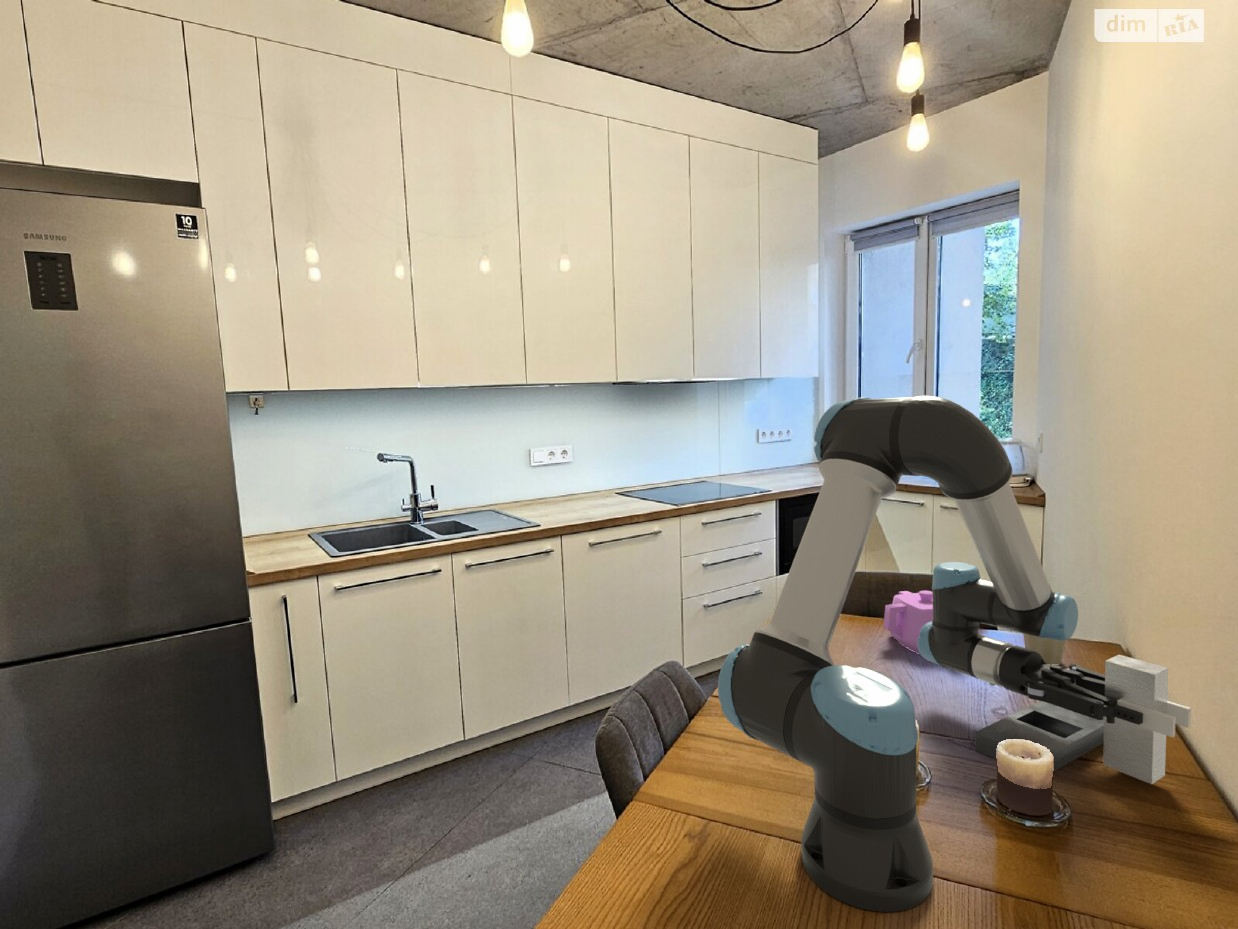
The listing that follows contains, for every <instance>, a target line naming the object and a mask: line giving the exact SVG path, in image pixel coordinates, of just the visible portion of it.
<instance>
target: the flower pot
mask: <svg viewBox="0 0 1238 929" xmlns="http://www.w3.org/2000/svg"><path fill="white" fill-rule="evenodd" d="M1022 635H1023V641H1024V648H1027V649H1030V650H1034V651H1036V652H1038V653H1039V654H1040V655H1041V656H1042V659H1043V660H1044V662H1045V663H1046V664H1050V665H1052V664H1060V663H1061V664H1062V663H1063V662H1062V661H1063V655H1064V650H1065V646H1066V641H1057V640H1052V639H1047V638H1038V637H1036V636H1032V635H1028V634H1024V633H1022ZM1061 664H1060V665H1061Z"/></svg>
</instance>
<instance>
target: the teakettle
mask: <svg viewBox="0 0 1238 929" xmlns="http://www.w3.org/2000/svg"><path fill="white" fill-rule="evenodd" d="M932 621H933V593H932V591H930V590H920V591H918V592H910V591H908V590H904V591H902V590H901V591H898V594H895V595H894V596H893V600H892V603H890V604H885V607H884V617H883V628H884V629H886V630H887V632H888V631H889V632H890V635H892V636H891V638H892V637H894V638H895V639H896V640H897V641H898V642H899V643H901V644H903V645H904V646H905V647H908V648H909V649H911V650H913V651H915V652H917V653H919V654H920V652H919V650H918V644H917V641H918V638H919V636H920V630H921V628H922V627H923V626H924V625H925V624H926V623H928V622H932ZM897 641H896V642H897ZM898 642H897V643H898ZM899 643H898V644H899ZM905 647H904V648H905ZM909 649H908V650H909Z"/></svg>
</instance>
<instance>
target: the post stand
mask: <svg viewBox="0 0 1238 929" xmlns="http://www.w3.org/2000/svg"><path fill="white" fill-rule="evenodd" d="M1006 739H1025V740H1030V741H1032V742H1034V743H1039V744H1040V745H1042V746H1045V747H1047V749H1050V752H1051V753H1052V754H1053V756H1054V772H1056V771H1058V770H1060V769H1061V768H1063V767H1064V766H1066V765H1068V764H1070V763H1072V762H1073V761H1075V760H1077V759H1079V758H1080V757H1082V756H1084V755H1085V754H1087V753H1089V752H1091V751H1092V750H1094V749H1096V748H1097V747H1100V746H1101V745H1104V717H1103V720H1097V719H1094V718H1091V717H1088V716H1085V715H1082V714H1079V713H1076V712H1073V711H1070V710H1067V709H1064V708H1061V707H1058V706H1056V705H1053V704H1050V703H1047V702H1043V701H1038V702H1035V703H1034V704H1032V705H1029V706H1027V707H1025V708H1024V709H1020V710H1018V711H1016V712H1015V713H1012V714H1010V715H1008V716H1006V717H1004V718H1002V719H1000V720H997V721H995V722H993V723H991V724H988V725H987V726H985V727H982V728H980V729H978V730H976V731H974V750H975V751H976V752H980V754H981V753H982V754H983V755H985V756H988V757H990V758H992V757H993V758H992V759H995V760H996V748H997V745H998V743H999V742H1001V741H1003V740H1006Z"/></svg>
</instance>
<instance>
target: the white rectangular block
mask: <svg viewBox="0 0 1238 929" xmlns="http://www.w3.org/2000/svg"><path fill="white" fill-rule="evenodd" d="M1104 661H1105V664H1104V666H1105V667H1104V668H1105V669H1104V670H1105V674H1104V675H1105V697H1107V698H1109V699H1112V700H1114V701H1115V704H1117V700H1119V699H1121V700H1124V701H1127V702H1130V703H1133V704H1136V705H1139V706H1143V707H1146V708H1149V709H1152V710H1155V711H1158V712H1161V713H1164V714H1167V701H1168V694H1169V692H1168V689H1169V667H1166V666H1163V665H1159V664H1155V663H1151V662H1147V661H1146V660H1145V661H1144V660H1140V659H1136V658H1135V657H1129V656H1126V655H1122V654H1117V655H1114V656H1113V657H1111V658H1109V659H1106V660H1104ZM1166 752H1167V736H1166V735H1163V734H1160V733H1158V732H1155V731H1152V730H1149V729H1146V728H1143V727H1140V726H1137V725H1134V724H1131V723H1129V722H1126V721H1123V720H1120V719H1117V717H1115V723H1113V724H1111V723H1107V717H1105V716H1104V743H1103V752H1102V755H1103V756H1102V757H1103V758H1102V759H1103V760H1102V762H1103V763H1102V765H1103V766H1106V767H1109V768H1110V769H1114V770H1115V771H1118V772H1120V773H1123V774H1125V775H1127V776H1130V777H1132V778H1135V779H1138V780H1140V781H1143V782H1145V783H1148V784H1150V785H1153V784H1154V783H1156V782H1158V781H1159V780H1161V779H1162V778H1163V777H1165V776H1166V761H1167V760H1166V755H1167V754H1166Z"/></svg>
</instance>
